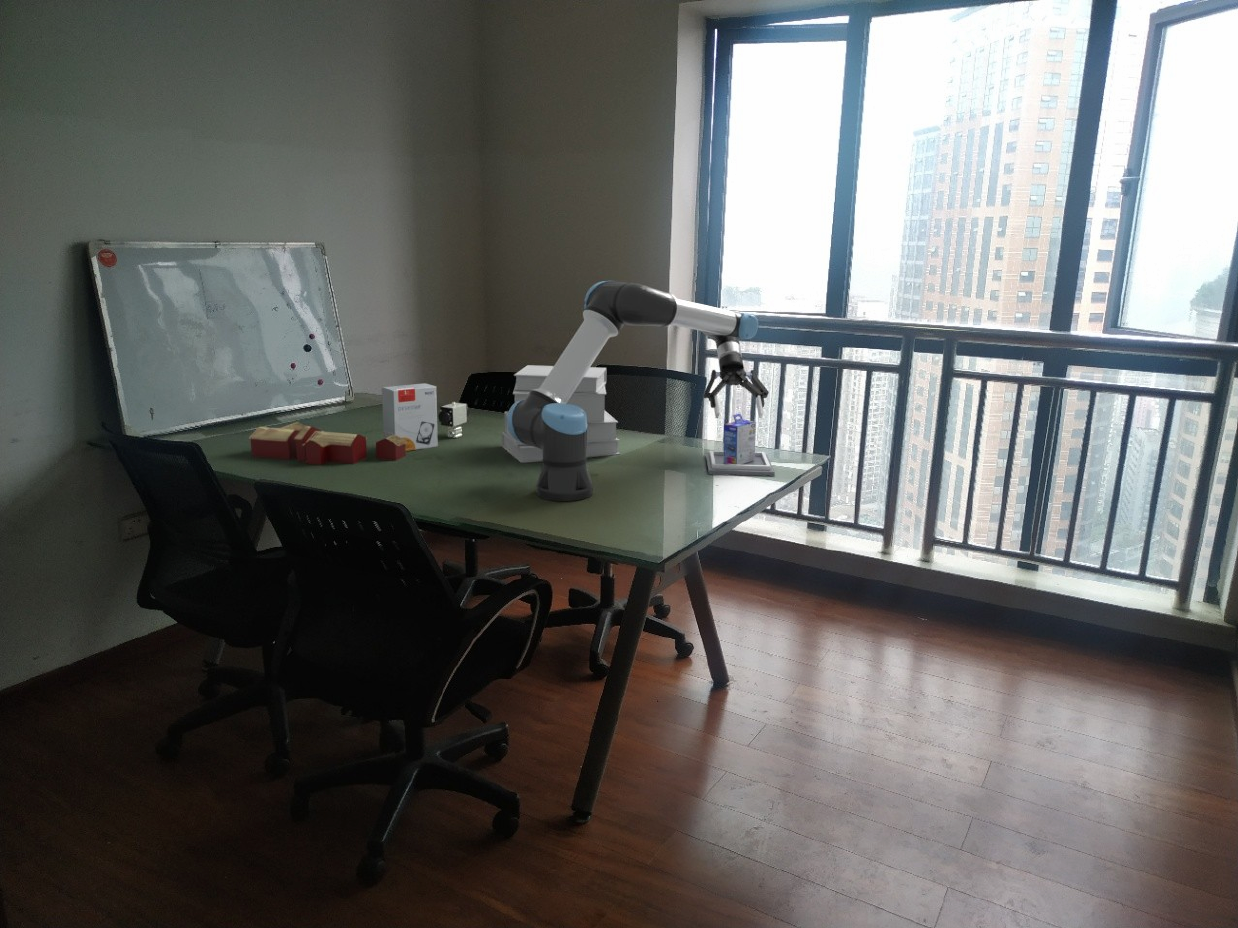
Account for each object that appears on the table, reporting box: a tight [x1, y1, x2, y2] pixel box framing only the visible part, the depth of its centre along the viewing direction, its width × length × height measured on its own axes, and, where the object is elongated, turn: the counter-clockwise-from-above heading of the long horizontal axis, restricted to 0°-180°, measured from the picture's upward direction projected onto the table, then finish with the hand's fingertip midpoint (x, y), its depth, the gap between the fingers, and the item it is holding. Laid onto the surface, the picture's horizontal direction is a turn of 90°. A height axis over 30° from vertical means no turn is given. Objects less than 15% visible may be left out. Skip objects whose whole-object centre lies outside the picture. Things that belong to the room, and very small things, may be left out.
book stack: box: [501, 364, 621, 464], centre depth 273 cm, size 30×35×26 cm
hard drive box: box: [381, 383, 439, 452], centre depth 274 cm, size 16×8×20 cm, turn 130°
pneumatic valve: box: [437, 401, 470, 439], centre depth 291 cm, size 6×12×12 cm, turn 155°
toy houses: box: [249, 421, 407, 466], centre depth 264 cm, size 45×20×10 cm, turn 75°
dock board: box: [705, 450, 776, 477], centre depth 261 cm, size 19×21×2 cm
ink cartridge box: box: [723, 413, 757, 465], centre depth 260 cm, size 10×6×14 cm, turn 137°
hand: (739, 415), depth 264 cm, fingers open, 13 cm apart
